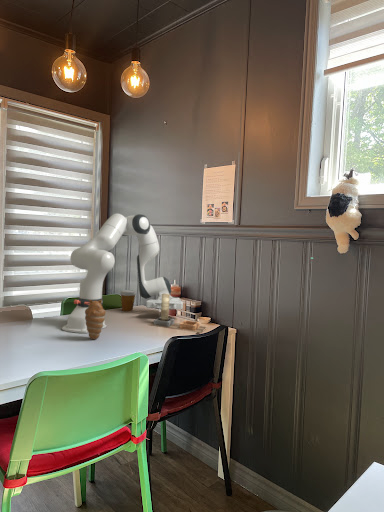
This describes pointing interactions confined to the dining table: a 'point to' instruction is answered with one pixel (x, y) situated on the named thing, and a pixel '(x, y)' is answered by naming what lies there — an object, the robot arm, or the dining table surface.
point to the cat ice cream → (94, 318)
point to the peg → (165, 307)
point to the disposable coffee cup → (127, 300)
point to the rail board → (179, 325)
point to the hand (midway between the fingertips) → (164, 307)
